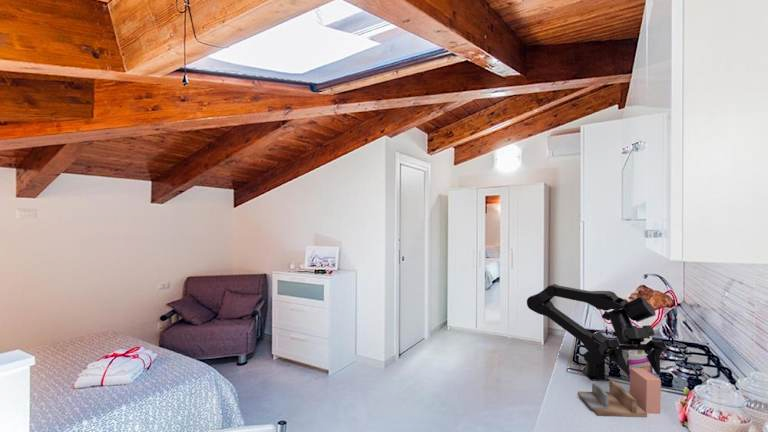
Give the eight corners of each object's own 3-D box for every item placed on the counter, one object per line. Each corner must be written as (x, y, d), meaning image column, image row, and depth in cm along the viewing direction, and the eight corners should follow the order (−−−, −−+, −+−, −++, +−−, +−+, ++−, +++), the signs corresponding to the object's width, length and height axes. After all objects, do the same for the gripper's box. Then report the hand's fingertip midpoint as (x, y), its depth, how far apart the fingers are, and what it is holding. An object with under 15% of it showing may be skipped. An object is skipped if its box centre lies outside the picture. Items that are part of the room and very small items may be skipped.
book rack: (576, 394, 120) (576, 379, 120) (622, 395, 120) (623, 380, 119) (595, 415, 108) (595, 398, 108) (647, 417, 108) (647, 400, 107)
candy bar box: (639, 368, 139) (640, 325, 138) (652, 374, 134) (653, 329, 133) (615, 372, 136) (616, 328, 135) (627, 378, 131) (628, 332, 130)
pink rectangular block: (629, 399, 117) (630, 368, 117) (642, 399, 117) (643, 368, 117) (646, 413, 110) (646, 380, 109) (660, 413, 109) (661, 380, 109)
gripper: (604, 315, 119) (624, 364, 108) (664, 315, 118) (690, 365, 108) (591, 330, 127) (608, 377, 117) (646, 331, 127) (669, 378, 116)
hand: (643, 374), depth 114 cm, fingers open, 9 cm apart
